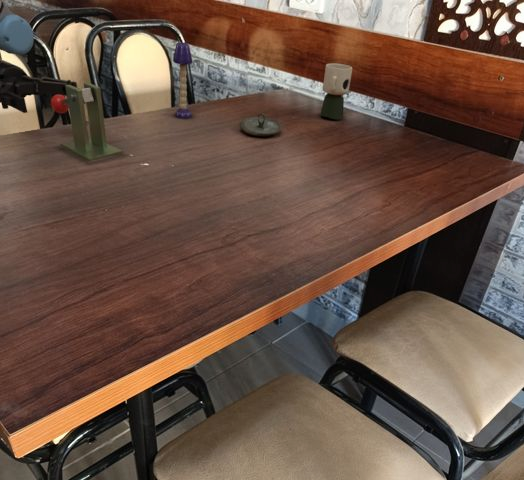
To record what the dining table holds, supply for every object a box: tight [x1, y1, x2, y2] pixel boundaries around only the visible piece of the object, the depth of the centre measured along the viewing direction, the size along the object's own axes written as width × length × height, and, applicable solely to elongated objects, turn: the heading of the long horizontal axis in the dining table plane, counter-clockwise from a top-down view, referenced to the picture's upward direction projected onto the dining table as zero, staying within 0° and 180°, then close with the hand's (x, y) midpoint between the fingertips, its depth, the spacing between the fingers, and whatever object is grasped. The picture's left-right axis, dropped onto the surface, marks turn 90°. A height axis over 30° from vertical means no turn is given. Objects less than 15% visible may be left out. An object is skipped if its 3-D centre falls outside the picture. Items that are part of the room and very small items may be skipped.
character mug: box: [319, 62, 353, 120], centre depth 137 cm, size 11×7×13 cm, turn 161°
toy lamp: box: [172, 41, 193, 120], centre depth 126 cm, size 5×5×17 cm
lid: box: [238, 112, 283, 137], centre depth 125 cm, size 11×10×5 cm
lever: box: [50, 87, 94, 114], centre depth 104 cm, size 14×4×4 cm, turn 47°
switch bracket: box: [59, 81, 124, 162], centre depth 103 cm, size 11×8×13 cm
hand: (54, 101), depth 109 cm, fingers open, 13 cm apart
